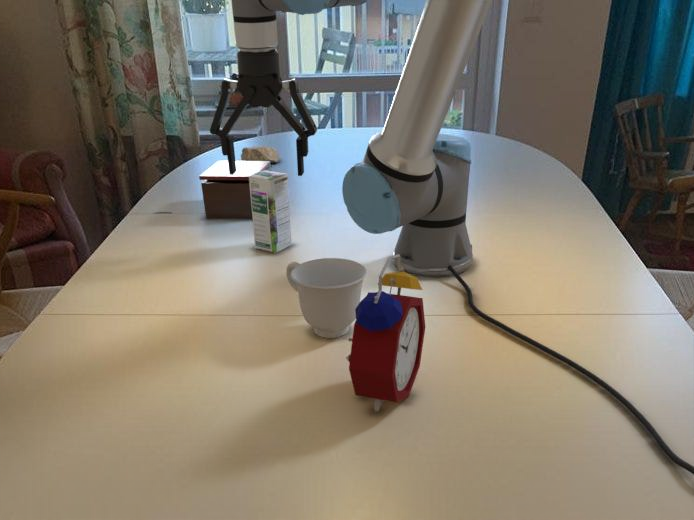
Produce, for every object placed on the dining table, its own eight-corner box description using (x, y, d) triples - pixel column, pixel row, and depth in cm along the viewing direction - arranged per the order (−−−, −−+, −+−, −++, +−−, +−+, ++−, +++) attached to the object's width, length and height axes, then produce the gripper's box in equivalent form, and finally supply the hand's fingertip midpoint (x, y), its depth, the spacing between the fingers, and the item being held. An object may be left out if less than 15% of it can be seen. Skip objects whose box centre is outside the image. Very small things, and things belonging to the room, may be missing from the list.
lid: (255, 180, 161) (254, 176, 160) (199, 179, 162) (199, 176, 162) (270, 164, 174) (270, 161, 174) (218, 164, 176) (218, 160, 175)
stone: (242, 159, 209) (240, 142, 207) (279, 158, 210) (277, 141, 207) (240, 167, 203) (238, 149, 200) (277, 166, 203) (276, 148, 200)
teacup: (314, 304, 129) (311, 248, 123) (382, 326, 121) (382, 268, 115) (266, 329, 122) (261, 270, 116) (335, 354, 114) (333, 293, 108)
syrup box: (254, 248, 152) (246, 175, 143) (271, 240, 156) (265, 168, 147) (275, 253, 149) (269, 179, 140) (293, 244, 153) (288, 172, 144)
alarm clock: (392, 424, 98) (395, 281, 86) (332, 413, 101) (327, 272, 88) (424, 373, 109) (431, 239, 97) (369, 364, 111) (369, 232, 99)
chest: (259, 219, 167) (256, 183, 162) (205, 218, 168) (201, 183, 163) (273, 198, 179) (270, 164, 174) (223, 197, 180) (219, 164, 176)
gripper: (329, 45, 132) (332, 169, 145) (195, 45, 135) (210, 167, 148) (323, 51, 126) (327, 180, 139) (183, 52, 129) (199, 177, 142)
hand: (266, 173), depth 144 cm, fingers open, 13 cm apart
